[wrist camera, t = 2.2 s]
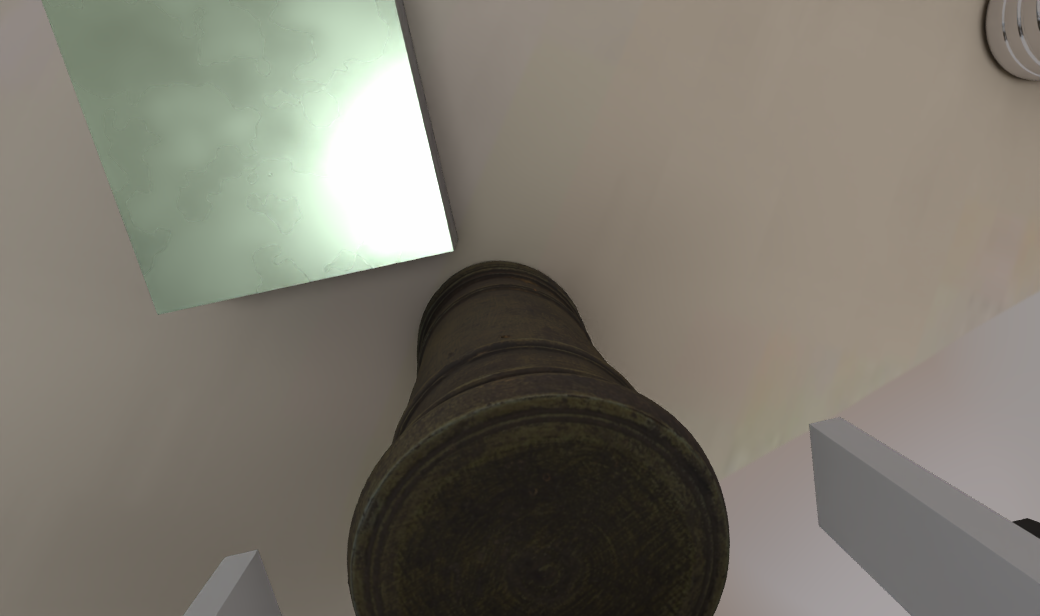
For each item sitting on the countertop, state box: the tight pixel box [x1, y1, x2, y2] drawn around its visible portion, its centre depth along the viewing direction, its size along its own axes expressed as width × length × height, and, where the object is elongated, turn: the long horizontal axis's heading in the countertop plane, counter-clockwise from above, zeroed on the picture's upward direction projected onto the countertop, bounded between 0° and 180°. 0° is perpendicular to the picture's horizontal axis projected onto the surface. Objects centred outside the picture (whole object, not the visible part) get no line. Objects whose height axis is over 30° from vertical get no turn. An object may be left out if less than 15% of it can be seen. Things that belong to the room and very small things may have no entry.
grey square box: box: [42, 0, 458, 315], centre depth 23 cm, size 12×13×6 cm
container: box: [347, 261, 730, 616], centre depth 20 cm, size 9×9×18 cm
